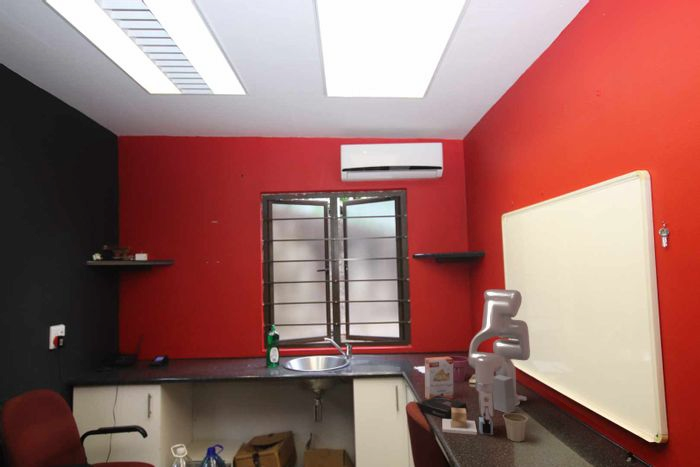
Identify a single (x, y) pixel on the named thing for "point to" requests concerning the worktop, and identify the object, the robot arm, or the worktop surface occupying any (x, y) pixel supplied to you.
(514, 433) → the flower pot
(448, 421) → the board
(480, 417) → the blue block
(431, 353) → the worktop surface
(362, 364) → the worktop surface
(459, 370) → the plant pot
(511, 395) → the skincare box
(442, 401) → the portable cd player
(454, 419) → the oak block
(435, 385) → the cracker box
